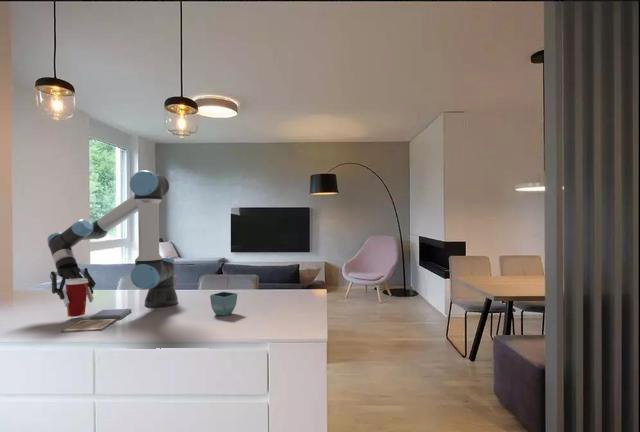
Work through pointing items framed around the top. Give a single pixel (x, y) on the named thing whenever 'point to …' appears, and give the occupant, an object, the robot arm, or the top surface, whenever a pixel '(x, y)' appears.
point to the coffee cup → (76, 296)
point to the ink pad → (110, 314)
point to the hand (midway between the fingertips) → (79, 302)
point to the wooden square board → (90, 325)
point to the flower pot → (223, 303)
